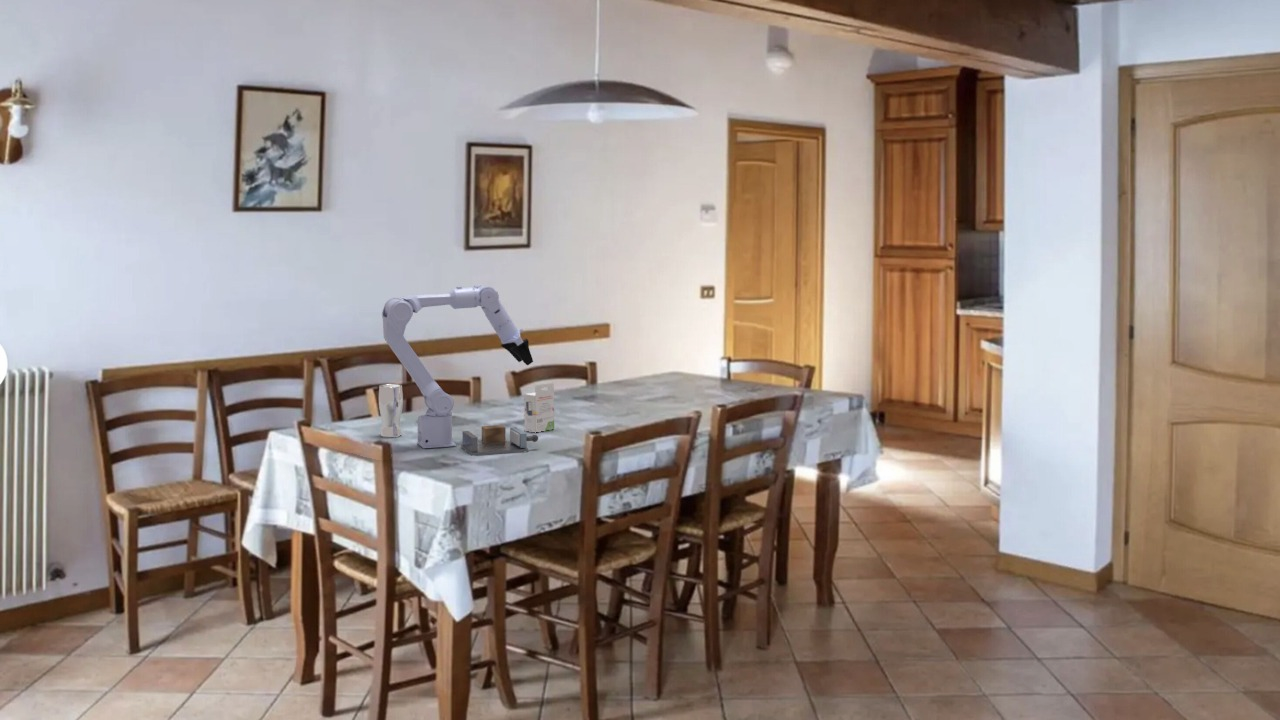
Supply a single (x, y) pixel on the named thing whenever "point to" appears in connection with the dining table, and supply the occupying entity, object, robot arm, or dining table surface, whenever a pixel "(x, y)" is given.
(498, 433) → the block
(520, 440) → the slide jaw
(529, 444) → the dining table surface
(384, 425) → the beer glass
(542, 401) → the ink box
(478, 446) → the vise
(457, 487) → the dining table surface
